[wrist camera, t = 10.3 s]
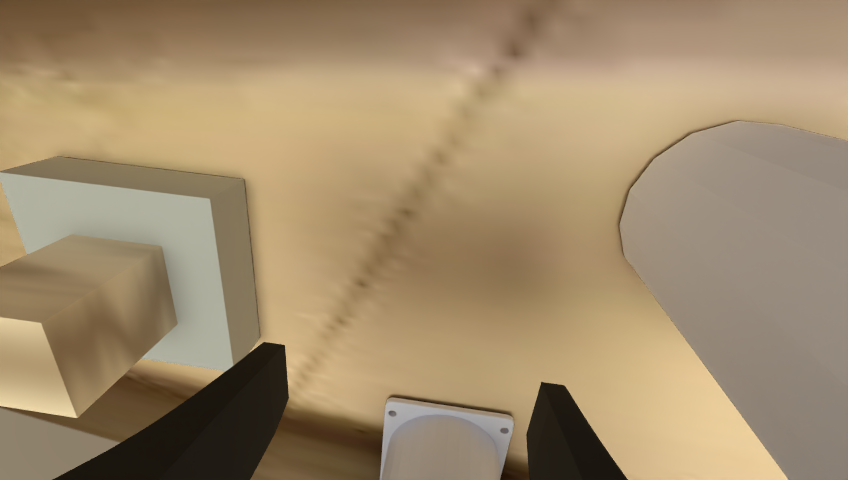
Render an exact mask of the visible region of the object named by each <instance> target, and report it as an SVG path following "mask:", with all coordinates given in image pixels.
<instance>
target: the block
mask: <svg viewBox="0 0 848 480" xmlns="http://www.w3.org/2000/svg"><path fill="white" fill-rule="evenodd" d="M177 324H178V322H177V317H176V313H175V308H174V303H173V298H172V293H171V288H170V284H169V279H168V274H167V269H166V264H165V259H164V255H163V250H162V246H157V245H149V244H142V243H134V242H127V241H119V240H111V239H104V238H96V237H89V236H81V235H74V234H71V235H69V236H67V237H64V238H62V239H60V240H58V241H56V242H54V243H52V244H49V245H47V246H45V247H43V248H41V249H39V250H36V251H34V252H32V253H30V254H28V255H26V256H23V257H21V258H19V259H17V260H15V261H13V262H10V263H8V264H6V265H4V266H2V267H0V406H5V407H11V408H18V409H24V410H30V411H36V412H43V413H49V414H55V415H62V416H68V417H74V418H78V417H79V416H80V415H81V414H82V413H83V412H84V411H85V410H86V409H87V408H88V407H90V406H91V405H92V404H93V403H94V402H95V401H96V400H97V399H98V398H99V397H100V396H101V395H102V394H103V393H104V392H106V391H107V390H108V389H109V388H110V387H111V386H112V385H113V384H114V383H115V382H116V381H117V380H118V379H119V378H121V377H122V376H123V375H124V374H125V373H126V372H127V371H128V370H129V369H130V368H131V367H132V366H133V365H134V364H135V363H137V362H138V361H139V360H140V359H141V358H142V357H143V356H144V355H145V354H146V353H147V352H148V351H149V350H150V349H152V348H153V347H154V346H155V345H156V344H157V343H158V342H159V341H160V340H161V339H162V338H163V337H164V336H165V335H166V334H168V333H169V332H170V331H171V330H172V329H173V328H174V327H175V326H176V325H177Z"/></svg>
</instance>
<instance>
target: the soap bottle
mask: <svg viewBox="0 0 848 480" xmlns="http://www.w3.org/2000/svg"><path fill="white" fill-rule="evenodd" d="M619 226H620V233H621V239H622V246H623V252H624V257H625V258H626V259H627V261H628V262H629V263H630V265H631V266H632V268H633V269H634V270H635V272H636V273H637V274H638V276H639V277H640V278H641V280H642V281H643V282H644V284H645V285H646V287H647V288H648V289H649V291H650V292H651V293H652V295H653V296H654V297H655V299H656V300H657V302H658V303H659V304H660V306H661V307H662V308H663V310H664V311H665V312H666V314H667V315H668V316H669V318H670V319H671V321H672V322H673V323H674V325H675V326H676V327H677V329H678V330H679V331H680V333H681V334H682V335H683V337H684V338H685V340H686V341H687V342H688V344H689V345H690V346H691V348H692V349H693V350H694V352H695V353H696V354H697V356H698V357H699V359H700V360H701V361H702V363H703V364H704V365H705V367H706V368H707V369H708V371H709V372H710V373H711V375H712V376H713V378H714V379H715V380H716V382H717V383H718V384H719V386H720V387H721V388H722V390H723V391H724V392H725V394H726V395H727V397H728V398H729V399H730V401H731V402H732V403H733V405H734V406H735V407H736V409H737V410H738V411H739V413H740V414H741V416H742V417H743V418H744V420H745V421H746V422H747V424H748V425H749V426H750V428H751V429H752V431H753V432H754V433H755V435H756V436H757V437H758V439H759V440H760V441H761V443H762V444H763V445H764V447H765V448H766V450H767V451H768V452H769V454H770V455H771V456H772V458H773V459H774V460H775V462H776V463H777V464H778V466H779V467H780V469H781V470H782V471H783V473H784V474H785V475H786V477H787V478H788V479H789V480H848V141H846V140H842V139H838V138H834V137H830V136H826V135H822V134H818V133H814V132H810V131H805V130H801V129H797V128H793V127H789V126H785V125H781V124H769V123H758V122H747V121H735V122H731V123H728V124H724V125H721V126H717V127H713V128H710V129H706V130H703V131H699V132H695V133H692V134H690V135H689V136H687V137H686V138H684V139H683V140H681V141H680V142H678V143H677V144H675V145H674V146H672V147H671V148H669V149H668V150H666V151H665V152H663V153H662V154H660V155H659V156H657V157H656V158H654V160H653V161H652V162H651V163H650V165H649V166H648V167H647V169H646V170H645V171H644V172H643V174H642V175H641V176H640V178H639V179H638V180H637V181H636V183H635V184H634V185H633V186H632V188H631V189H630V191H629V195H628V198H627V201H626V205H625V208H624V211H623V215H622V218H621V221H620V225H619Z"/></svg>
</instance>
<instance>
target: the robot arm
mask: <svg viewBox="0 0 848 480" xmlns="http://www.w3.org/2000/svg"><path fill="white" fill-rule="evenodd" d="M288 399H289V395H288V381H287V367H286V354H285V345H281V344H274V343H267V342H264V343H262V344H261V345H260V346H258V347H257V348H255V349H254V350H253V351H252V352H250V353H249V354H248V355H246V356H245V357H244V358H242V359H241V360H240V361H239V362H237V363H236V364H235V365H233V366H232V367H231V368H230V369H228V370H227V371H226V372H224V373H223V374H222V375H220V376H219V377H218V378H216V379H215V380H214V381H212V382H211V383H210V384H208V385H207V386H206V387H204V388H203V389H202V390H200V391H199V392H198V393H196V394H195V395H194V396H192V397H191V398H189V399H188V400H186V401H185V402H184V403H182V404H181V405H179V406H178V407H176V408H175V409H173V410H172V411H170V412H169V413H168V414H166V415H165V416H163V417H162V418H160V419H159V420H157V421H156V422H154V423H153V424H151V425H149V426H148V427H146V428H145V429H143V430H141V431H140V432H138V433H137V434H135V435H133V436H132V437H130V438H128V439H126V440H125V441H123V442H121V443H120V444H118V445H116V446H115V447H113V448H111V449H109V450H108V451H106V452H104V453H102V454H100V455H98V456H97V457H95V458H93V459H91V460H90V461H87V462H85V463H83V464H81V465H80V466H78V467H76V468H74V469H72V470H70V471H68V472H66V473H65V474H63V475H61V476H59V477H57V478H55V479H53V480H250V479H251V477H252V475H253V473H254V471H255V469H256V468H257V466H258V464H259V462H260V460H261V458H262V456H263V455H264V453H265V451H266V449H267V447H268V445H269V443H270V441H271V440H272V438H273V436H274V434H275V432H276V429H277V427H278V424H279V422H280V419H281V417H282V414H283V412H284V409H285V407H286V404H287V401H288ZM393 411H395V412H393ZM513 428H514V419H513V417H511V416H510V415H507V414H500V413H494V412H487V411H480V410H474V409H467V408H460V407H454V406H447V405H440V404H434V403H427V402H420V401H414V400H407V399H400V398H389V399H387V401H386V404H385V414H384V429H383V443H382V458H381V472H380V480H500V478H501V474H502V470H503V466H504V462H505V459H506V455H507V451H508V447H509V443H510V439H511V436H512V432H513ZM527 451H528V466H529V476H530V480H628V479H627V478H626V477H625V475H624V474H623V472H622V471H621V470H620V468H619V467H618V466H617V464H616V463H615V461H614V460H613V458H612V457H611V456H610V454H609V453H608V451H607V450H606V448H605V447H604V446H603V444H602V443H601V441H600V440H599V438H598V437H597V435H596V434H595V432H594V431H593V429H592V428H591V426H590V425H589V423H588V422H587V420H586V419H585V417H584V415H583V414H582V412H581V411H580V409H579V407H578V406H577V404H576V403H575V401H574V400H573V398H572V396H571V395H570V393H569V392H568V390H567V389H566V387H565V386H564V385H558V384H551V383H544V382H541V386H540V389H539V393H538V396H537V400H536V403H535V407H534V410H533V414H532V417H531V420H530V424H529V427H528V431H527Z"/></svg>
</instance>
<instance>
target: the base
mask: <svg viewBox="0 0 848 480" xmlns="http://www.w3.org/2000/svg"><path fill="white" fill-rule="evenodd" d="M0 182H1V185H2V187H3V190H4V193H5V196H6V198H7V201H8V204H9V206H10V209H11V212H12V215H13V217H14V220H15V223H16V226H17V228H18V231H19V234H20V237H21V239H22V242H23V245H24V247H25V250H26V253H27V255H28V254H30V253H32V252H34V251H36V250H39V249H41V248H43V247H45V246H47V245H49V244H52V243H54V242H56V241H58V240H60V239H62V238H64V237H67V236H69V235H71V234H74V235H81V236H89V237H96V238H104V239H111V240H119V241H127V242H134V243H142V244H149V245H157V246H162V250H163V255H164V259H165V264H166V269H167V274H168V279H169V284H170V288H171V293H172V298H173V303H174V308H175V313H176V317H177V322H178V324H177V325H176V326H175V327H174V328H173V329H172V330H171V331H170V332H169V333H168V334H166V335H165V336H164V337H163V338H162V339H161V340H160V341H159V342H158V343H157V344H156V345H155V346H154V347H153V348H152V349H150V350H149V351H148V352H147V353H146V354H145V355H144V356H143V357H142V358H141V359H147V360H154V361H160V362H167V363H174V364H180V365H187V366H194V367H200V368H207V369H214V370H220V371H227V370H228V369H230V368H231V367H232V366H233V365H235V364H236V363H237V362H239V361H240V360H241V359H242V358H244V357H245V356H246V355H248V353H249V352H250V351H251V349H252V348H253V346H254V345H255V344H256V342H257V341H258V340H259V338H260V332H259V322H258V312H257V302H256V292H255V282H254V273H253V263H252V253H251V243H250V233H249V223H248V213H247V203H246V193H245V183H244V179H238V178H230V177H222V176H214V175H205V174H197V173H189V172H181V171H173V170H165V169H156V168H148V167H140V166H132V165H124V164H116V163H107V162H99V161H91V160H83V159H75V158H67V157H58V156H57V157H53V158H49V159H45V160H41V161H38V162H34V163H30V164H26V165H22V166H18V167H14V168H11V169H7V170H3V171H0Z"/></svg>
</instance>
